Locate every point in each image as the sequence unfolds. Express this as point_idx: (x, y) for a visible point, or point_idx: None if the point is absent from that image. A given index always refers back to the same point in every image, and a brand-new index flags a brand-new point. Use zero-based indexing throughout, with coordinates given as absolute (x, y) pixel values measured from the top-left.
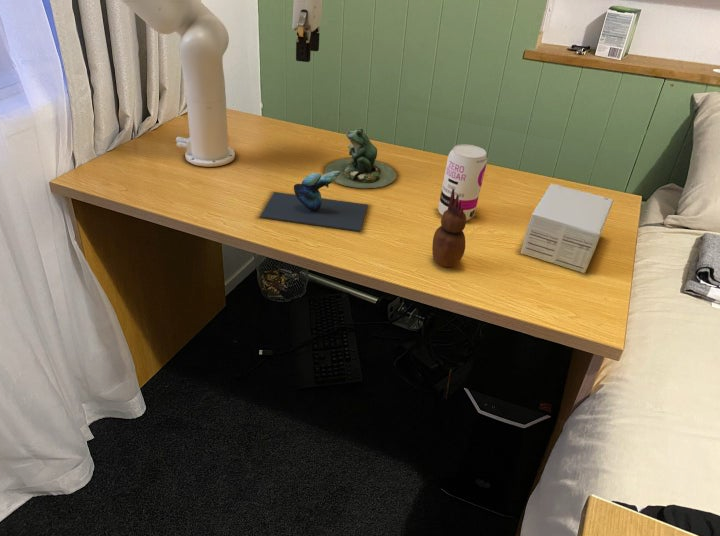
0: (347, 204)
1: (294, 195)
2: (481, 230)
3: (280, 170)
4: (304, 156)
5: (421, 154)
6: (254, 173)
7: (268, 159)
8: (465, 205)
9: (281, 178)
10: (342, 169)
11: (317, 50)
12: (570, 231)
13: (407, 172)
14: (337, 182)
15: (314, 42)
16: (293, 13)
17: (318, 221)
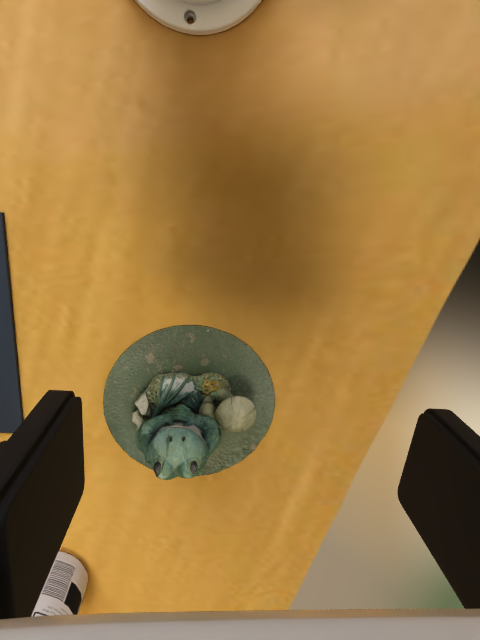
0: (5, 394)
1: (2, 270)
2: None
3: (155, 206)
4: (264, 261)
5: (322, 515)
6: (113, 129)
7: (223, 157)
8: None
9: (104, 217)
10: (198, 365)
11: (398, 497)
12: None
13: (220, 493)
14: (117, 362)
15: (440, 525)
16: None
17: None
